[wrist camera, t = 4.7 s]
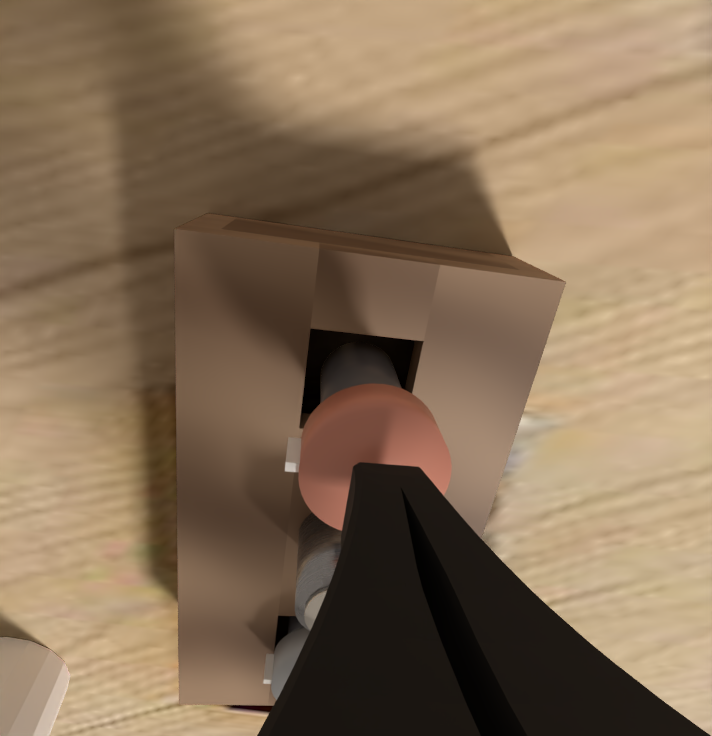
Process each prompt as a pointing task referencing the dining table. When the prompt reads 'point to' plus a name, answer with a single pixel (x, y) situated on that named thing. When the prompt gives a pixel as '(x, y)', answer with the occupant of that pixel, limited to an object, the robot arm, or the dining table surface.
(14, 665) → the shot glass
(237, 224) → the mount
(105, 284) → the dining table surface
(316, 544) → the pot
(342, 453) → the knob red
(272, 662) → the knob grey
